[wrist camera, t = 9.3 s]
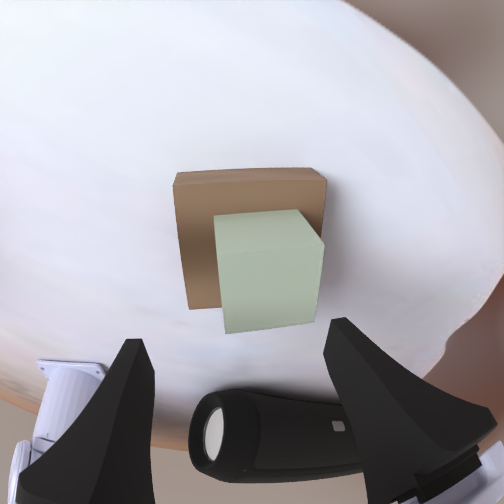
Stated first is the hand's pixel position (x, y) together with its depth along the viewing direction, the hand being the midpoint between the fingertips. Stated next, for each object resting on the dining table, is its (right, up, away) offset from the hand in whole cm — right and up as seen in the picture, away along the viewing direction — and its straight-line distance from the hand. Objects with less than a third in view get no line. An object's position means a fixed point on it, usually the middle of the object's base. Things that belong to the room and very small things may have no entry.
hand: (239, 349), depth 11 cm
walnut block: (0, +5, +8) cm, 10 cm away
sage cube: (+1, +4, +6) cm, 7 cm away
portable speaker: (+6, -15, +21) cm, 27 cm away
